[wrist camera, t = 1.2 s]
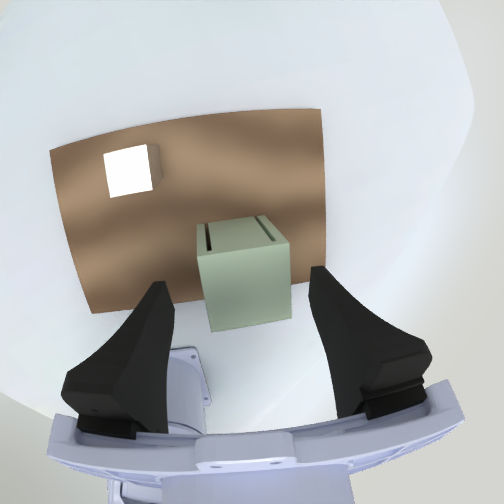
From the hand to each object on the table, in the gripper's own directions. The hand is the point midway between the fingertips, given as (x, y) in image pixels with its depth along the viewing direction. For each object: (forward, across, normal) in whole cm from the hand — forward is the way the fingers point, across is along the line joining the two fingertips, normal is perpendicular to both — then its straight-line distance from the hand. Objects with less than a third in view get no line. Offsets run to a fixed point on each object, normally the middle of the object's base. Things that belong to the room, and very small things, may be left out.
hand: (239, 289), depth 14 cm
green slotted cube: (+9, 0, +4) cm, 10 cm away
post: (+10, +6, -4) cm, 12 cm away
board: (+10, +4, +1) cm, 11 cm away
